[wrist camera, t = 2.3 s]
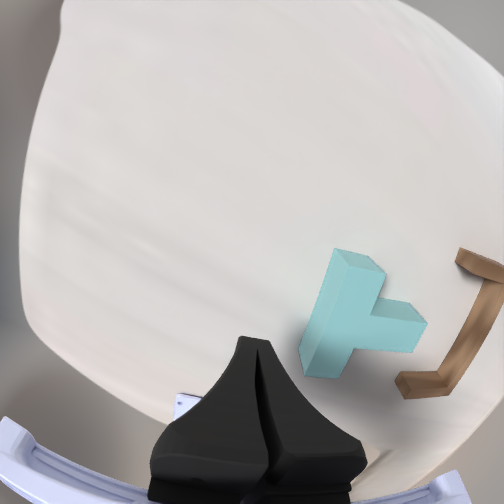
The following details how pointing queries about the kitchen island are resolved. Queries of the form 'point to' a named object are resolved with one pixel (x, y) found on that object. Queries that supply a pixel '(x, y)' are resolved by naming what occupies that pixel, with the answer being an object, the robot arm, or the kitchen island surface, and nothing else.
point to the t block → (355, 317)
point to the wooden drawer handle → (461, 333)
